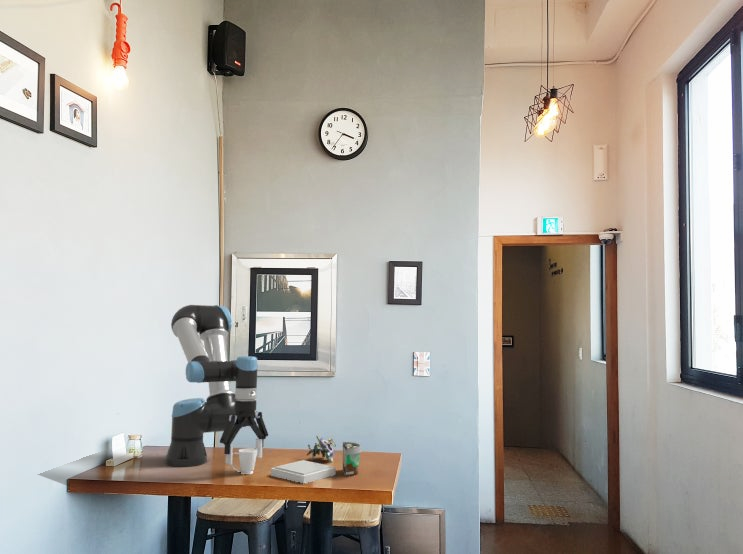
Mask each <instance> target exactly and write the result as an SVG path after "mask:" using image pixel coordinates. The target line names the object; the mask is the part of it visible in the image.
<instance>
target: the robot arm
mask: <svg viewBox="0 0 743 554" xmlns="http://www.w3.org/2000/svg"><path fill="white" fill-rule="evenodd" d="M232 323H233V321H232V315H231V313H230V311H229V309H228V308H227V307H226V306H224V305H217V304H216V305H201V304H200V305H199V304H197V305H196V304H188V305H185V306H183V307H181V308H180V309H178V310H177V311H176V312H175V314H174V315H173V316H172V319H171V323H170V326H171V331H172V333H173V335H174V336H175V337H176V338H178V341H179V343H180V346H181V349H182V351H183V354H184V355H185V359H186V360H187V364H186V365H185V377H186V378H185V379H186V381H187V382H188V383H197V384H200V383H208V391H209V395H208V396H207V397H206V400H205V399H204V398H203V397H201V398H200V397H197V398H196V397H195V398H188V399H187V398H186V399H182V400H178V401H177V402H175V403H174V404H173V406H172V413H171V437H170V438H171V439H170V443H169V444H170V445H169V446H168V448H167V449H168V450H167V452H166V455H165V462H164V463H165V465H166V466H171V467H194V466H199V465H200V466H201V465H203V463H204V464H206V463H207V462H208V454H207V451H206V450H207V449H206V447H205V443H204V433H217V432H222V434H221V436H220V440H219V443H220V444H223V445H224V449H223V450H224V451H223V452H224V454H225V464H226V465H231V464H233V457H232V456H234V455H233V453H234V452H233V450H234V444H232V443H233V442H234V439H235V438H236V436H237V435H238V433H239V432H240V429H242V428H245V427H250V428H251V430H252V431H253V432H254V434H255V436H256V437H257V438H255V449H257V456H256V458H258V459H262V458H263V448H264V440H266V439H267V437H269V432H268V429H267V426H266V424H265V421H264V419H263V412H262V411H257V400H256V399H257V393H258V392H257V390H258V388H257V386H258V385H257V384H258V357H256V356H249V355H248V356H247V355H246V356H238V357H237V358H236V360H234V359H233V360H228V353H227V344H226V338H227V337H228V335H229V333H230V332H231V330H232V327H233V326H232ZM202 341H203V342H204V343H203V342H202ZM232 382H235V389H234V390H235V392H234V391H232V384H231V383H232ZM205 462H206V463H205Z"/></svg>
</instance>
